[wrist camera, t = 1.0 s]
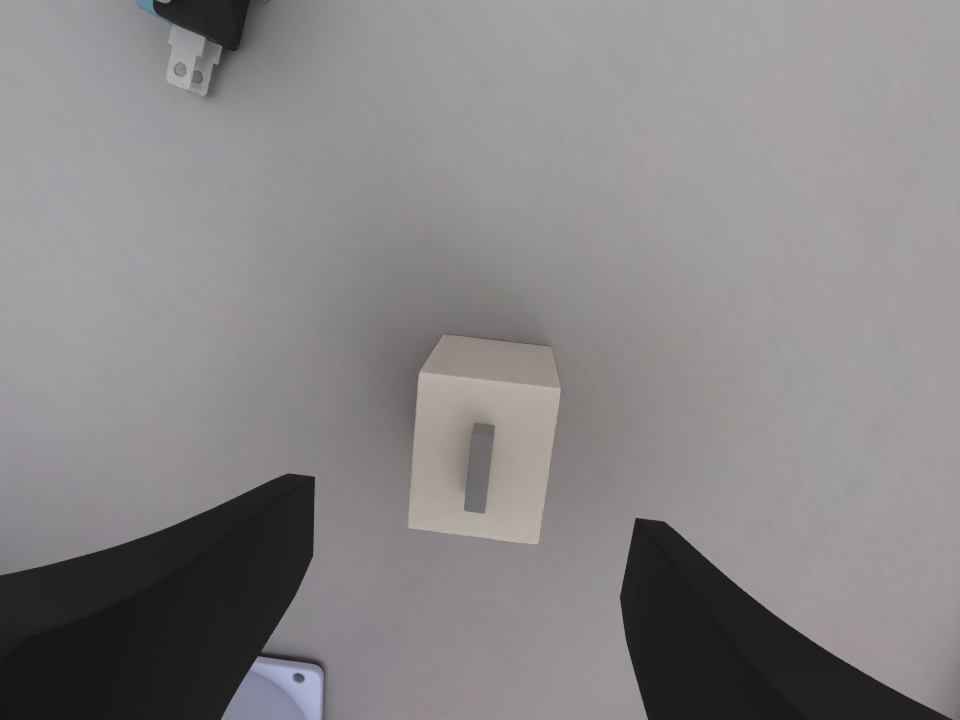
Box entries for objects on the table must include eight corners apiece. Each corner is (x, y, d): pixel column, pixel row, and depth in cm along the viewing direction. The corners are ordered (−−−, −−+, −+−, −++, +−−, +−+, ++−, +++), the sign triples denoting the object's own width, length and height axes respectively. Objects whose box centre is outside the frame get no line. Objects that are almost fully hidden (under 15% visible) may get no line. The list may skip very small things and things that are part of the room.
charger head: (432, 457, 21) (401, 543, 16) (443, 333, 20) (412, 379, 14) (534, 470, 21) (539, 562, 16) (551, 346, 20) (563, 397, 14)
